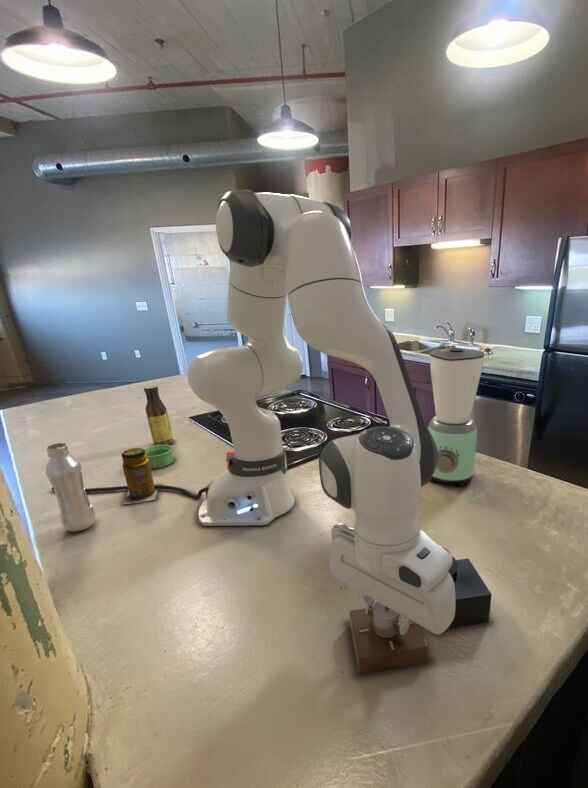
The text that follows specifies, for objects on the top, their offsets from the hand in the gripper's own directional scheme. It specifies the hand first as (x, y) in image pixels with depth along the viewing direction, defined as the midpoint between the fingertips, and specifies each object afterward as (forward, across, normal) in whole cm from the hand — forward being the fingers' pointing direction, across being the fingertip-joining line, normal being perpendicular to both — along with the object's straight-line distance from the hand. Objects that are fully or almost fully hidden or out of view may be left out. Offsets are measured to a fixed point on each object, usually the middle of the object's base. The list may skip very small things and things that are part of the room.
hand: (386, 621), depth 62 cm
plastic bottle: (+4, -74, -17) cm, 76 cm away
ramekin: (+4, -94, +11) cm, 94 cm away
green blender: (+4, -19, +56) cm, 59 cm away
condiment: (+4, -78, -2) cm, 78 cm away
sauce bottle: (+4, -108, +20) cm, 110 cm away
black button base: (+4, +4, +13) cm, 14 cm away
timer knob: (+1, 0, 0) cm, 1 cm away
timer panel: (+4, 0, 0) cm, 4 cm away
